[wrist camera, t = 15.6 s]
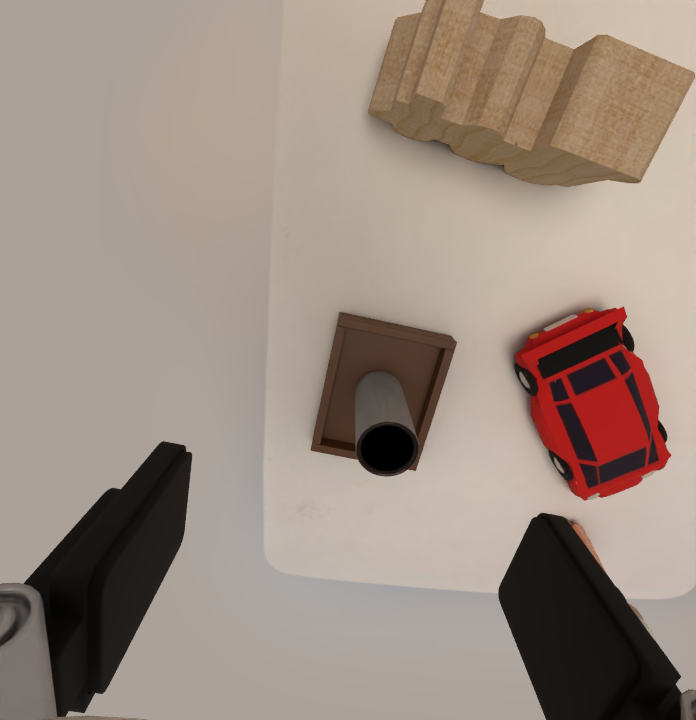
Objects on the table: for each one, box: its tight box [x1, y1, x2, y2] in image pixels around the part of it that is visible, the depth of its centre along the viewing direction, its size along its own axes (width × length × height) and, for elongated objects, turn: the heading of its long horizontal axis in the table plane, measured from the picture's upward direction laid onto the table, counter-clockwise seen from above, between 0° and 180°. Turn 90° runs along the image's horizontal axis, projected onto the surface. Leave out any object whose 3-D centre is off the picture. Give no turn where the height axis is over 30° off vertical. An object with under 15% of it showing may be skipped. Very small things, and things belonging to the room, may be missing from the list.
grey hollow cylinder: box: [355, 371, 419, 476], centre depth 33 cm, size 4×4×10 cm
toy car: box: [515, 307, 671, 501], centre depth 36 cm, size 10×20×5 cm, turn 32°
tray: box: [311, 312, 457, 471], centre depth 37 cm, size 14×11×2 cm
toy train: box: [368, 0, 695, 187], centre depth 26 cm, size 6×17×10 cm, turn 72°
